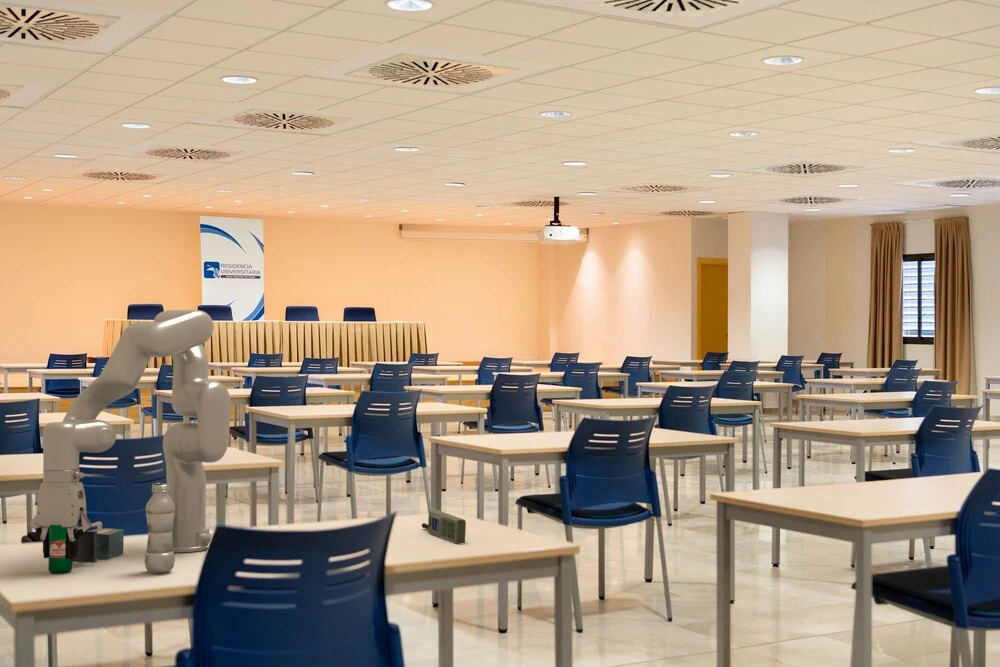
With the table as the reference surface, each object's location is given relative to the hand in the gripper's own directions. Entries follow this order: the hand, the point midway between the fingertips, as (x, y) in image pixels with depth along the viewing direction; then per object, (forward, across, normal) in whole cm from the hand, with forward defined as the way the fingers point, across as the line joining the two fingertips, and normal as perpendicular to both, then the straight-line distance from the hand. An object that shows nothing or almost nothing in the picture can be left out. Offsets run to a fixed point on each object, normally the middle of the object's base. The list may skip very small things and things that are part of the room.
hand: (60, 556), depth 251 cm
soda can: (+4, 0, 0) cm, 4 cm away
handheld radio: (+4, -74, -62) cm, 97 cm away
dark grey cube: (+4, 0, -18) cm, 19 cm away
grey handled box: (+3, 0, -12) cm, 13 cm away
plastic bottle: (+4, -22, -4) cm, 23 cm away
